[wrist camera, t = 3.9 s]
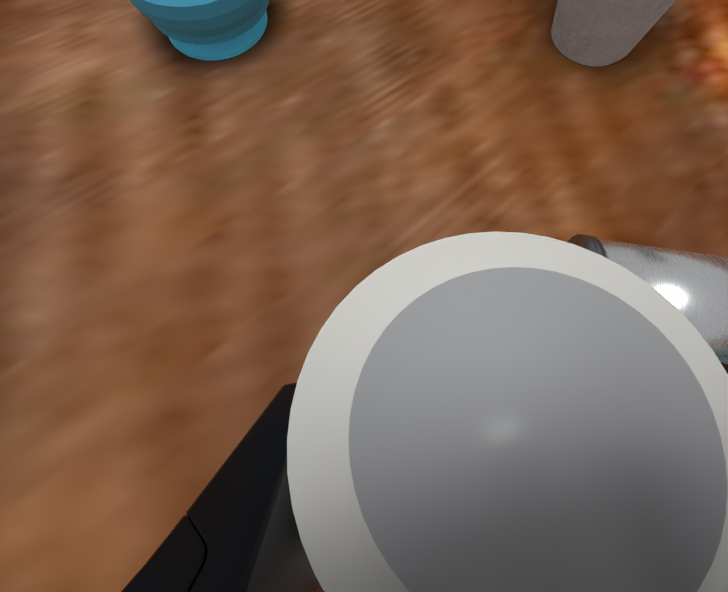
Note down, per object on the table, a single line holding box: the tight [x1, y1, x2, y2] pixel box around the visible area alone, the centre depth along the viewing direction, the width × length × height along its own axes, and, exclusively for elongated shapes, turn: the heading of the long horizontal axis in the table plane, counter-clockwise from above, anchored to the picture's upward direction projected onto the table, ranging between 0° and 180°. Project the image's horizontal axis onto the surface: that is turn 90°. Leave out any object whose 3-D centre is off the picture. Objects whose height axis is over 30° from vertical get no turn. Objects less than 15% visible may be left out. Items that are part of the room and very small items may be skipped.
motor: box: [568, 234, 728, 364], centre depth 19 cm, size 13×10×6 cm
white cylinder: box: [287, 232, 728, 592], centre depth 10 cm, size 6×6×10 cm
